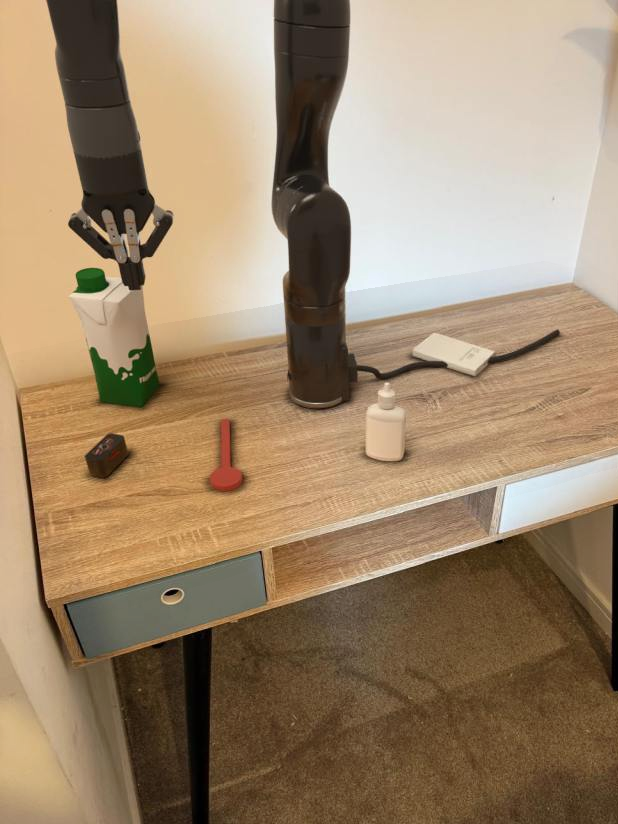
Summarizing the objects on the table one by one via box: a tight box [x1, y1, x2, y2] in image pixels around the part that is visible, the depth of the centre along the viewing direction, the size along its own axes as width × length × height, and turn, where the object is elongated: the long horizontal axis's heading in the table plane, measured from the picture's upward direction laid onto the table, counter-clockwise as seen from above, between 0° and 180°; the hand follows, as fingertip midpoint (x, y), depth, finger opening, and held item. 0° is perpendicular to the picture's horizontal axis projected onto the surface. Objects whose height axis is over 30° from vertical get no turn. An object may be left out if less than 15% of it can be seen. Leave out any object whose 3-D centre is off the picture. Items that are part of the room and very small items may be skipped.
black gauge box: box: [84, 432, 129, 478], centre depth 105 cm, size 5×7×3 cm, turn 163°
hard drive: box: [411, 332, 497, 377], centre depth 131 cm, size 2×8×12 cm
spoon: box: [209, 418, 243, 492], centre depth 108 cm, size 4×17×1 cm, turn 10°
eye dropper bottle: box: [365, 382, 407, 462], centre depth 105 cm, size 4×6×12 cm
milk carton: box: [68, 267, 161, 408], centre depth 113 cm, size 9×9×20 cm
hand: (135, 287), depth 97 cm, fingers closed
